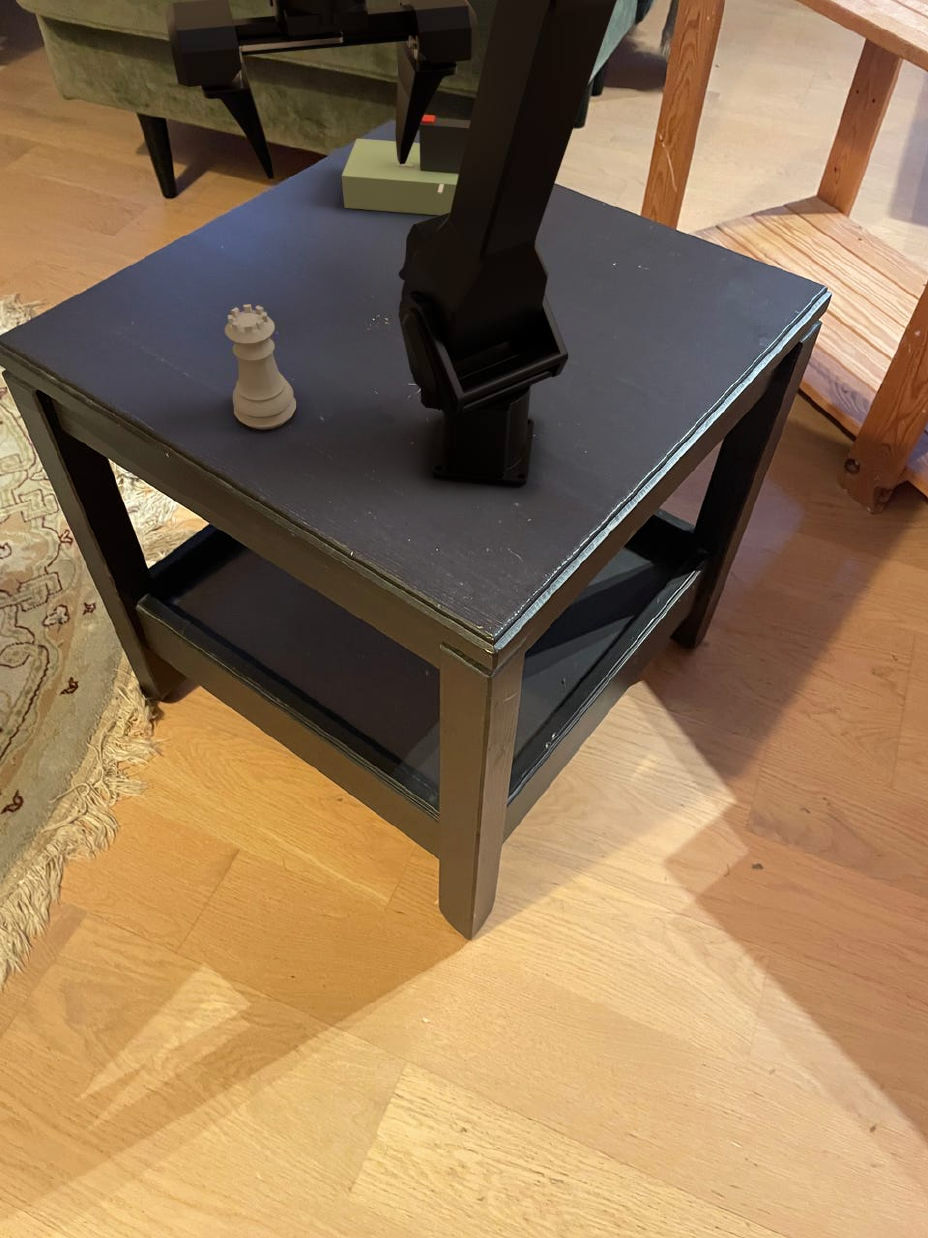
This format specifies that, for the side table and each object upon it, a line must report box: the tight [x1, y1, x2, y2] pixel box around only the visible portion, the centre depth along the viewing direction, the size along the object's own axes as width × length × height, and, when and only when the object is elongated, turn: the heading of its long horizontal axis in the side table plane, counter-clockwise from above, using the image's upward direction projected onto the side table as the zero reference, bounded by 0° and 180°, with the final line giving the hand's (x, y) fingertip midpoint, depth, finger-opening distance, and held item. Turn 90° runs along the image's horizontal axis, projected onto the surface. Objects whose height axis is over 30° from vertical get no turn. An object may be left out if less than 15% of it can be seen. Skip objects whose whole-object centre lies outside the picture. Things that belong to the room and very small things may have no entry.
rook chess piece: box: [224, 303, 297, 431], centre depth 63 cm, size 4×4×8 cm
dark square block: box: [418, 114, 471, 173], centre depth 81 cm, size 4×1×4 cm, turn 82°
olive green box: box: [341, 138, 459, 216], centre depth 84 cm, size 9×13×3 cm, turn 83°
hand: (336, 168), depth 64 cm, fingers open, 9 cm apart
